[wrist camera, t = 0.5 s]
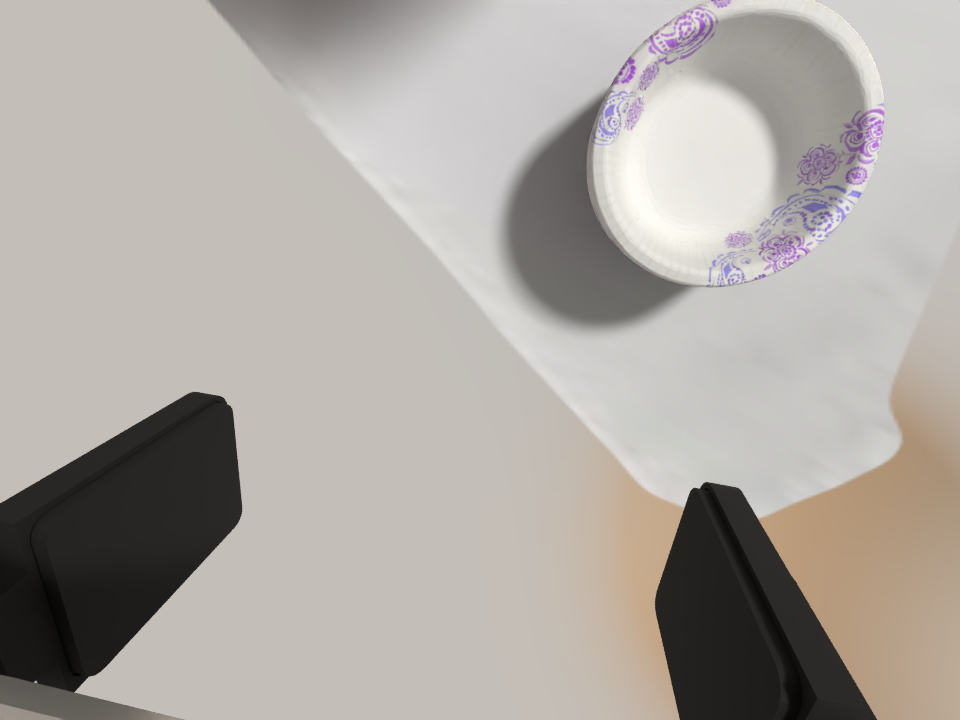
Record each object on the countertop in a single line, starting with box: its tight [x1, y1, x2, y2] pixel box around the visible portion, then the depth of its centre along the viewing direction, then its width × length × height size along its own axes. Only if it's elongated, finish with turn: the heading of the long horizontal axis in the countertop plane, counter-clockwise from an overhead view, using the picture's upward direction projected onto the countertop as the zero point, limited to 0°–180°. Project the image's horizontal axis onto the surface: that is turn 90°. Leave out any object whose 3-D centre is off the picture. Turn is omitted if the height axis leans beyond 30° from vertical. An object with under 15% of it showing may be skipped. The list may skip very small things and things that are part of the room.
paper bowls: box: [586, 0, 884, 287], centre depth 30 cm, size 15×15×8 cm
